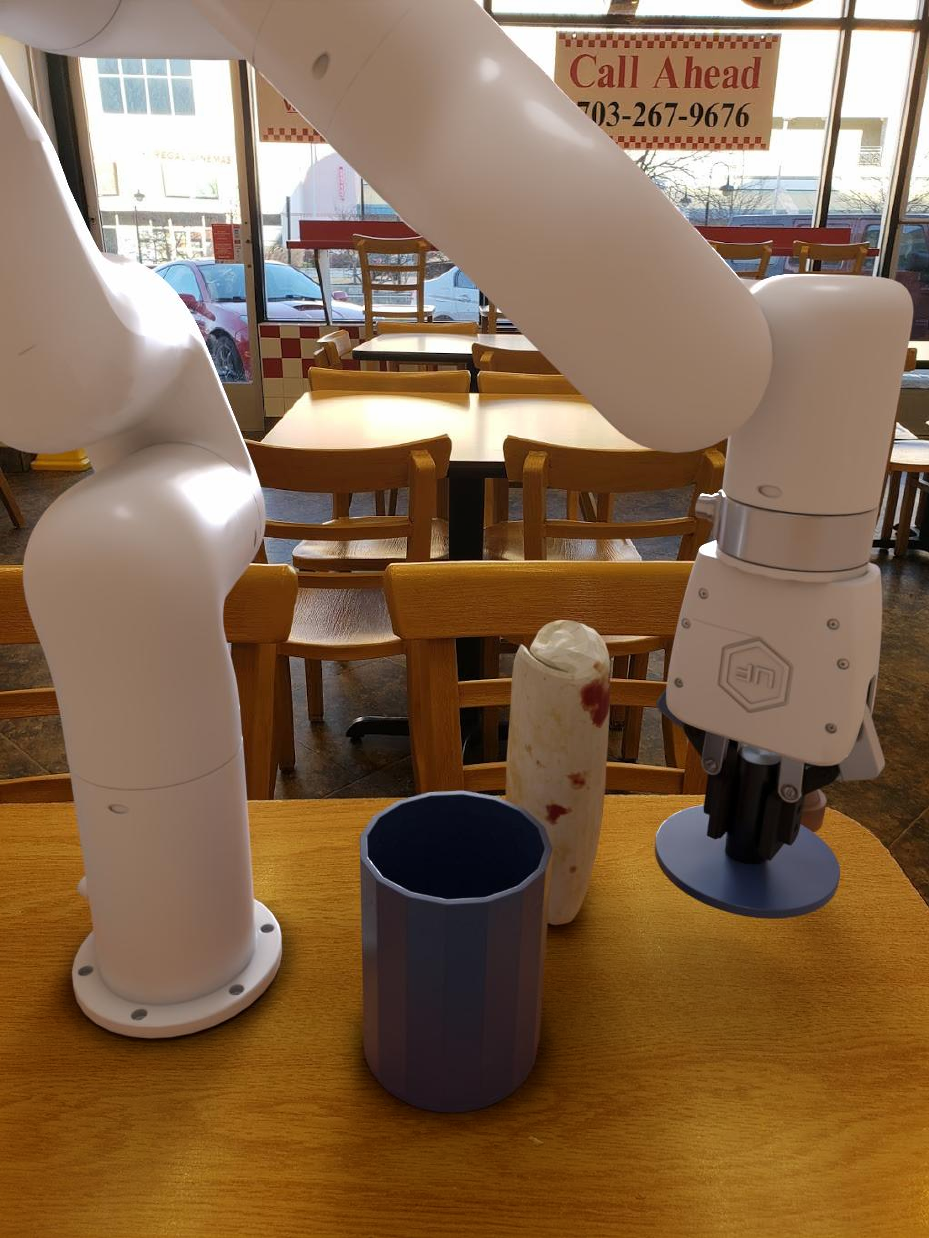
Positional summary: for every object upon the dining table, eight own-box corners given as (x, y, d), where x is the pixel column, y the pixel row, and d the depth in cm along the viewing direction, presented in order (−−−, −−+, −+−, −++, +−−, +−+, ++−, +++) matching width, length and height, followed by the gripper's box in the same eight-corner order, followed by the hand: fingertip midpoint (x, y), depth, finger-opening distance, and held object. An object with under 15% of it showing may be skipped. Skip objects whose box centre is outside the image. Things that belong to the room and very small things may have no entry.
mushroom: (745, 858, 71) (757, 780, 69) (767, 833, 75) (780, 758, 72) (803, 881, 69) (818, 802, 66) (823, 854, 72) (838, 777, 70)
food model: (607, 938, 63) (634, 665, 55) (507, 939, 62) (521, 664, 55) (584, 851, 72) (604, 606, 64) (497, 851, 71) (507, 605, 64)
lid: (621, 876, 54) (632, 760, 52) (699, 801, 62) (712, 696, 59) (799, 955, 49) (822, 829, 46) (860, 861, 56) (883, 748, 53)
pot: (327, 1048, 53) (319, 849, 48) (439, 954, 61) (442, 772, 56) (465, 1147, 48) (472, 932, 43) (570, 1030, 55) (586, 835, 50)
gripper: (617, 519, 50) (594, 816, 56) (946, 585, 40) (872, 930, 47) (681, 494, 55) (653, 767, 62) (982, 546, 46) (911, 861, 53)
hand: (748, 835), depth 54 cm, fingers closed on lid, 2 cm apart
